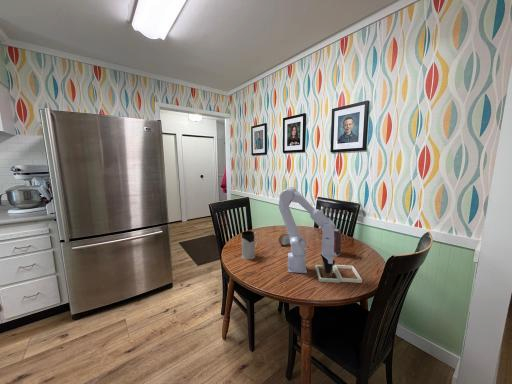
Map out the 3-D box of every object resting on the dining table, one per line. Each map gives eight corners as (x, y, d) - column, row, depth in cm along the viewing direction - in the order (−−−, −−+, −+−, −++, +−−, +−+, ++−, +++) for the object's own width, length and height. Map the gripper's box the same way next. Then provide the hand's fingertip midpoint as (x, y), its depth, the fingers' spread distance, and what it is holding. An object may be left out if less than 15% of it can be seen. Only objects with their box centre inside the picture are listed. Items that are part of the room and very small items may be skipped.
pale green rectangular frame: (319, 281, 100) (319, 278, 99) (315, 267, 113) (315, 264, 113) (340, 282, 98) (340, 279, 98) (333, 268, 112) (333, 265, 111)
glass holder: (238, 256, 128) (237, 233, 126) (254, 249, 138) (253, 227, 136) (248, 261, 122) (247, 236, 120) (264, 253, 132) (263, 230, 130)
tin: (295, 241, 152) (295, 230, 150) (298, 242, 149) (298, 231, 148) (278, 245, 144) (278, 233, 143) (281, 247, 141) (281, 235, 140)
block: (323, 276, 104) (324, 263, 103) (322, 272, 108) (322, 259, 107) (332, 276, 103) (332, 263, 102) (330, 272, 107) (330, 259, 106)
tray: (340, 281, 99) (340, 278, 99) (334, 267, 112) (334, 264, 112) (362, 282, 98) (362, 279, 98) (352, 268, 111) (353, 265, 111)
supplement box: (340, 254, 128) (341, 229, 126) (336, 256, 125) (337, 231, 123) (328, 250, 135) (328, 226, 133) (323, 252, 132) (324, 228, 130)
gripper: (340, 251, 96) (339, 278, 98) (333, 239, 110) (332, 264, 112) (324, 250, 97) (323, 277, 99) (319, 239, 111) (318, 263, 113)
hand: (327, 270), depth 105 cm, fingers closed on block, 4 cm apart
